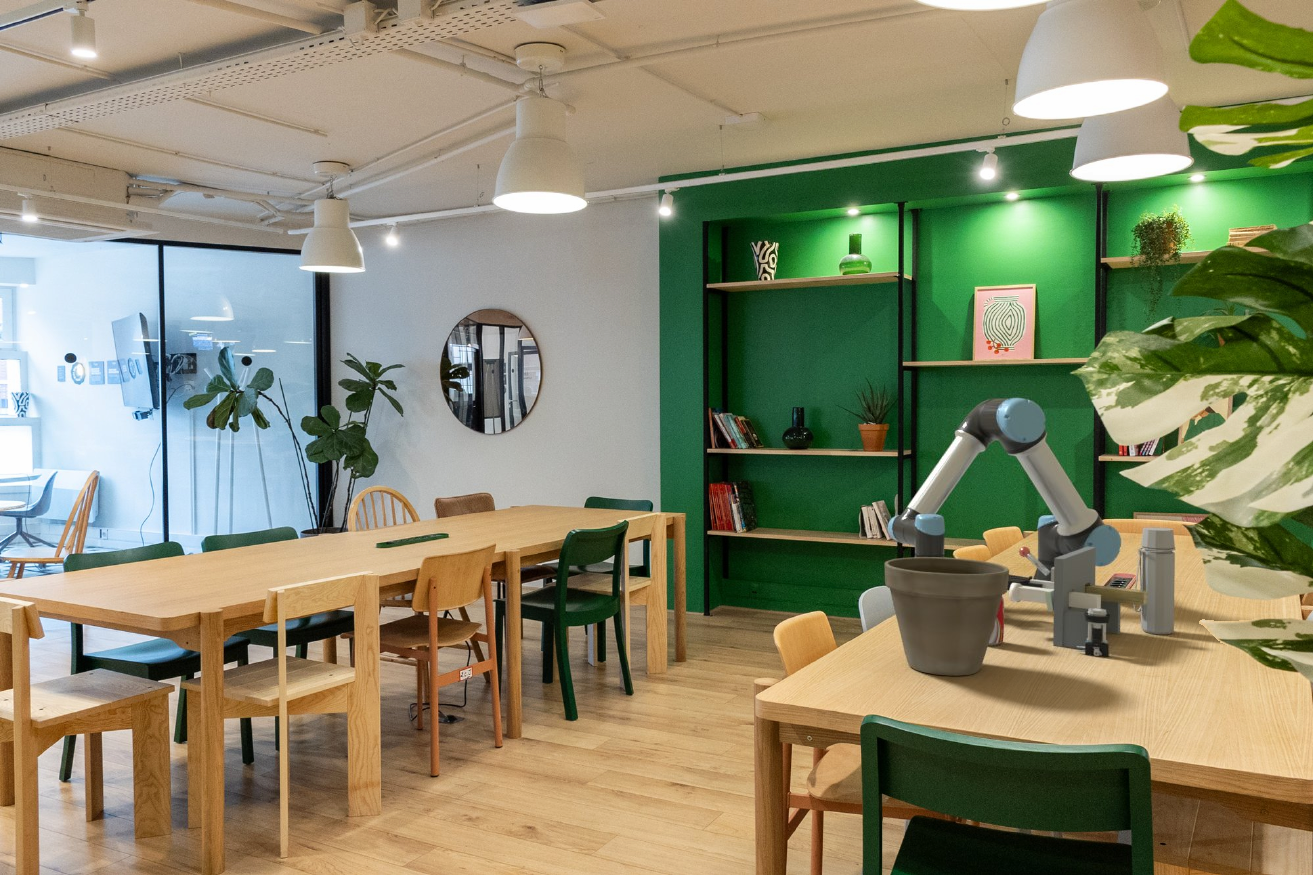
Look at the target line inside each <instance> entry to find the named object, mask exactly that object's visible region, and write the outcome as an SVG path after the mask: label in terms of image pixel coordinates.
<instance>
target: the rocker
mask: <svg viewBox="0 0 1313 875" xmlns="http://www.w3.org/2000/svg"><path fill="white" fill-rule="evenodd" d="M1045 596H1046V602H1047V604H1046V607H1047V612H1054V590H1052V591H1047V592H1045Z"/></svg>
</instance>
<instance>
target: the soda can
mask: <svg viewBox="0 0 1313 875" xmlns="http://www.w3.org/2000/svg"><path fill="white" fill-rule="evenodd" d="M1004 635H1005V601H1004V597H1003V596H1002V598H1001V602H1000V606H999V610H998V613H997V617H996V620H995V624H994V627H993V630H992V634H991V637H990V640H989V644H988V646H994V647H995V646H998V645H1000V644H1002V643H1003V641H1004Z"/></svg>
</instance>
